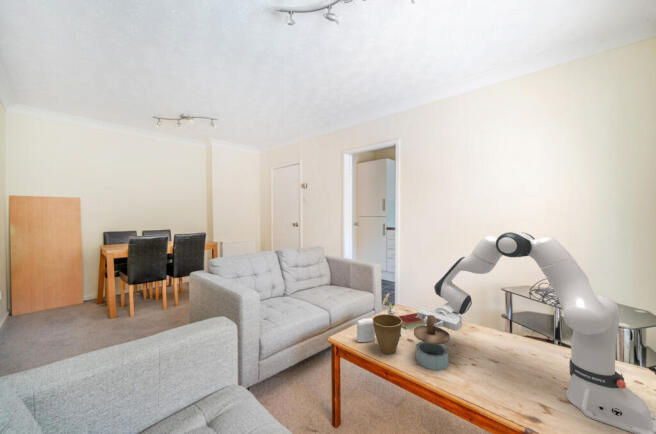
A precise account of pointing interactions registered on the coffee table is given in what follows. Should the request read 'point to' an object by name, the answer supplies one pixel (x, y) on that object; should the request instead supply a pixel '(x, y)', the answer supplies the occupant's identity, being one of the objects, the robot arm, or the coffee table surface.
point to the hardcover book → (411, 321)
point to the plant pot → (387, 332)
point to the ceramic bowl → (432, 356)
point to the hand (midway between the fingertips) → (430, 323)
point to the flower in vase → (390, 311)
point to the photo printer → (365, 330)
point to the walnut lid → (431, 332)
